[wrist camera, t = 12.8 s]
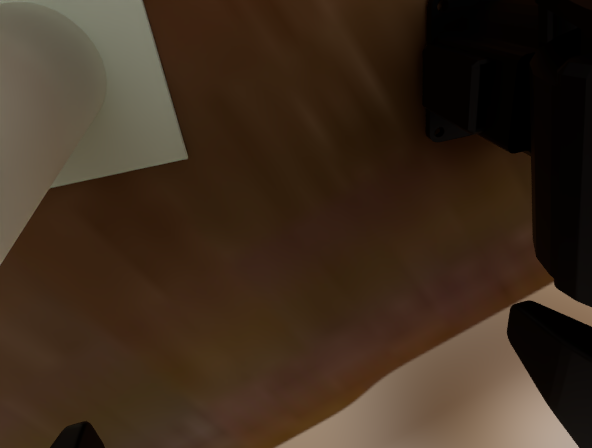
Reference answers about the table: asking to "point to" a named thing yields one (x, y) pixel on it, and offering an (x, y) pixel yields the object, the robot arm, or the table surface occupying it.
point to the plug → (41, 106)
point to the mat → (122, 93)
